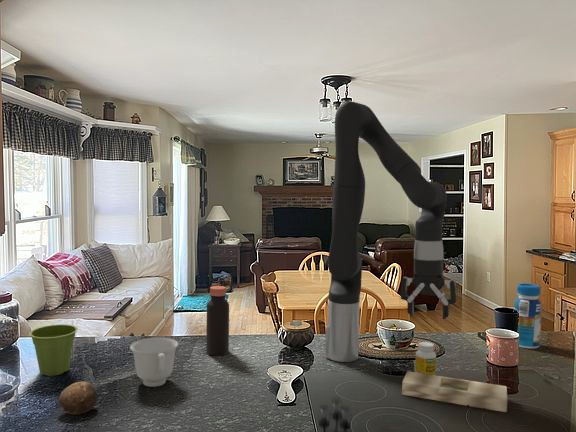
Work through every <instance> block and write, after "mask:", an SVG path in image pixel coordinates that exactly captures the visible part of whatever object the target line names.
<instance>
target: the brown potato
mask: <svg viewBox="0 0 576 432" xmlns="http://www.w3.org/2000/svg"><path fill="white" fill-rule="evenodd" d="M98 398H99V396H98V391H97V389H96V387H95V386H94V385H93V384H92V383H91V382H89V381H77V382H74V383H72V384H69V386H67V387H66V388H64V389H63V390H62V391H61V393H60V396H59V397H58V402H59V407H61V409H62V410H63V411H64V412H65V413H68V414H70V415H80V414H81V415H82V414H84V413H87V412H89V411H90V410H92V409H93V408H94V407H95V405H96V404H97V402H98V401H97V400H98Z"/></svg>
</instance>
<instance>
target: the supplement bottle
mask: <svg viewBox="0 0 576 432" xmlns="http://www.w3.org/2000/svg"><path fill="white" fill-rule="evenodd" d="M417 347H418V350H416V351H415V365H414V366H415V367H414V372H416V373H423V374H430V375H436V373H437V372H436V370H437V369H436V367H437V353H436V352H435V351H434V350H435V345H434V343H432V342H430V341H429V342H428V341H420V342H419V343H418V345H417Z"/></svg>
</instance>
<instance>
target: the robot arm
mask: <svg viewBox="0 0 576 432" xmlns="http://www.w3.org/2000/svg"><path fill="white" fill-rule="evenodd" d="M382 124H383V123H381V122H380V120H379V119H378V117H377V115H376V114H375V113H374V111H373V110H372V108H370V106H367V105H366V104H363V103H360V102H355V101H351V100H348V101H347V100H346V101H344V102H342V103H341V104H340V105H339V107H337V110H336V112H335V115H334V139H335V142H334V143H335V145H334V146H335V157H334V158H335V159H334V173H333V174H334V176H333V177H334V178H333V188H332V209H331V210H332V213H331V214H332V215H331V216H332V220H331V221H332V227H331V229H332V230H331V231H332V232H331V241H330V245H329V251H328V252H329V253H328V257H327V268H328V271H329V273H330V285H329V289H328V310H327V312H328V313H327V315H328V316H327V325H326V326H325V340H324V341H325V344H324V346H325V347H324V358H325V359H329V360H332V361H335V362H339V363H340V362H341V363H349V362H351V363H352V362H354V361H356V360H358V358H359V335H360V334H359V332H360V331H359V330H360V329H359V328H360V297H361V293H362V292H361V291H362V278H363V277H362V274H363V260H362V256H361V253H360V252H359V251H358V231H359V227H360V223H361V219H362V215H363V210H364V204H365V197H366V194H365V193H366V177H365V173H364V169H363V167H362V162H361V159H360V155H359V154H360V153H359V143H360V142H359V141H360V139H362V140H364V141H365V142H366V143H367V144H368V145H369V146H370V147H371V148H372V149H373V150H374V152H375V153H376V156H377V157H378V159H379V161H380V163H381V164H382V166H383V167H384V168H385V170H386V171H387V172H388V173H389V174H390V175H391V176H392V177H393V179H394V180H396V182H397V183H398V184H400V186H401V188H402V191H403V192H404V194H405V195H406V197H407V198H408V200H409V201H410V202H411V203H412V204H413V205H414V206H415V207H417V208H420V209H421V211H420V217H419V218H417V219H416V221H415V225H414V245H413V277H407V276H403V277H402V278H401V286H400V299H401V300H402V301H405V302H406V303H407V314H408V315H409V316H410V317H413V316H415V315H414V314H415V307H414V305H415V302H414V299H415V298H416V297H417V296H418V294H420V295H422V296H427V295H428V296H432V297H434V296H437V297H438V299H439V300H440V301H441V302H442V303H443V305H442V320H446V319H447V318H448V317H449V315H450V305H452V304H453V305H455V304H456V302H457V287H456V286H457V285H456V284H457V283H456V280H455V279H451V280H446V279H444V255H445V254H444V244H443V223H444V219H445V215H446V214H445V213H446V209H447V200H448V198H447V197H448V196H447V191H446V189H445V187H444V185H442V184H441V183H440V182H436V181H428V180H427V179H426V178H425V177H424V176H423V174H422V169H421V167H420V166H419V164H418V163H417V162H416V161H415V160H414V159H413V158H412V157H411V156H410V155H409V154H408V153H407V152H406V151H405V150H404V149H403V148H402V146H400V145H399V144H398V143H397V141H395V139H394V138H393V137H392V136H391V135H390V134H389V133H388V131H387V130H386V129H385V127H384V126H383V125H382ZM411 284H412V285H413V286H414V288H415V290H413V291H412V293H411V294H410V295H408V287H409V286H410V285H411ZM444 286H446V288H447V289H449V290H450V294H449V295H450V298H448V297H447V296H446V294H445V292H444V291H443V290H442V288H443V287H444Z"/></svg>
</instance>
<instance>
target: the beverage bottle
mask: <svg viewBox="0 0 576 432" xmlns="http://www.w3.org/2000/svg"><path fill="white" fill-rule="evenodd" d="M516 287H517V288H516V289H517V290H516V293H517V295H518V297H516V299H515V301H514V304H513V305H514V309H513V311H514V310H517V312H518V313H519V318H518V319H519V322H518V332H519V346H518V347H519V348H523V349H529V350H530V349H532V350H533V349H538V348H539V347H540V346H541V345H540V344H541V327H542V317H543V314H542V311H541V310H542V309H543V307H542V302H541V301H540V299H539V297H540V296H541V286H540V285H538V284H535V283H534V284H532V283H526V282H525V283H518V284H517V286H516Z"/></svg>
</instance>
